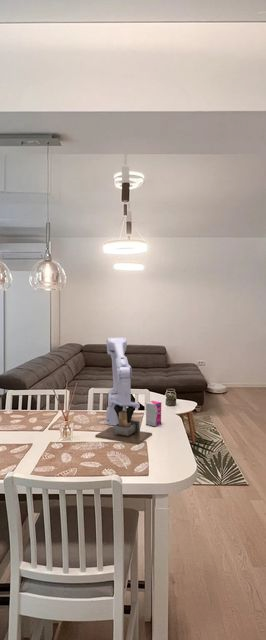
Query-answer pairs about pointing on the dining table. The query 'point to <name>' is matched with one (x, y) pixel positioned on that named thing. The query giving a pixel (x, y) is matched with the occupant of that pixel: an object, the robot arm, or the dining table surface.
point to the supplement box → (153, 413)
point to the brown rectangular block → (123, 419)
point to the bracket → (125, 433)
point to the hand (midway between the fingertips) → (124, 421)
